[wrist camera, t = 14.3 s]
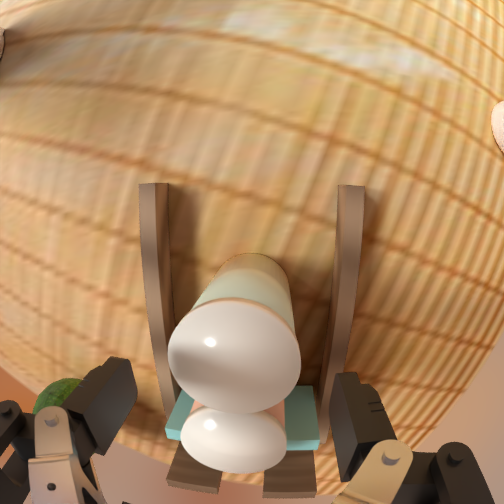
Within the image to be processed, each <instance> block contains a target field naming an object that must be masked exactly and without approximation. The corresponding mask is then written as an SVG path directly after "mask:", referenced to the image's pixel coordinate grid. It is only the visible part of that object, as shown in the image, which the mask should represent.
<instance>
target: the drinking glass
mask: <svg viewBox="0 0 504 504" xmlns="http://www.w3.org/2000/svg"><path fill="white" fill-rule="evenodd" d="M491 126H492V131H493V135H494V138H495V140H496V142H497V144H498V146H499V148H500V149H501V150H502V152H503V153H504V101H502V102H499V103H498V104H496V105H495V107H494V108H493V111H492V114H491Z"/></svg>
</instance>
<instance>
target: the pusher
mask: <svg viewBox="0 0 504 504" xmlns="http://www.w3.org/2000/svg"><path fill="white" fill-rule="evenodd" d="M194 401H195V399H193V398H192V397H190V396H189V395H188V394H187V393H186V392H185V391H184V390H183V389H182V390H181V393H180V395H179V397H178V399H177V402H176V404H175V406H174V408H173V411H172V413H171V415H170V417H169V419H168V422H167V424H166V426H165V431H166V435H167V438H169V439H174V440H180V441H181V438H180V436H181V431H182V428H183V425H184V422H185V420H186V418H187V416H188V415H189V414H190V411H191V409H192V406H193V403H194ZM284 415H285V431H286V437H287V450H318V446H319V442H320V435H319V428H318V420H317V413H316V406H315V400H314V393H313V386H295V387H294V389H293V390H292V391H291V392H290V394H289V395H288V396H287V397H286V398H285V399H284Z"/></svg>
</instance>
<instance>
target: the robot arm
mask: <svg viewBox="0 0 504 504" xmlns="http://www.w3.org/2000/svg"><path fill="white" fill-rule="evenodd" d="M4 30H5V29H4V28H1V27H0V58H1V55H2V51H3V47H4V36H3V33H4ZM136 399H137V386H136V382H135V379H134V375H133V371H132V367H131V363H130V361H129V360H128V359H124V358H118V357H113V356H111V357H109V358H108V360H107V361H106V362H105V363H104V364H103V365H102V366H98V367H96V368H95V369H93V370H91V371H90V372H89V373H88V374H87V375H86V376H85V377H84V379H83V380H82V381H81V382H80V383H79V384H78V386H77V387H76V388H75V389H74V390H73V391H72V392H71V394H70V395H69V396H68V397H67V398H66V399H65V401H64V402H63V403H62V404H61V405H60V406H59V407H57V406H50V407H46V408H43V409H42V410H40V411H39V412H38V413H37V414H31V413H23V412H22V410H21V408H20V406H19V405H18V403H16V402H15V401H11V400H6V401H2V402H0V456H1V455H2V454H3V452H4V451H5V450H6V448H7V447H8V446H9V444H11V445H12V447H13V448H14V449H15V451H14V452H13V454H12V455H11V457H10V458H9V460H8V461H7V462H6V464H5V465H4V467H3V468H2V470H1V468H0V504H23V502H24V500H25V499H26V497H27V495H28V493H29V492H30V490H31V498H32V504H107V502H106V500H105V499H104V496H103V494H102V491H101V488H100V485H99V481H98V478H97V475H96V471H95V467H94V464H93V461H92V458H91V456H92V454H93V453H97V454H100V455H103V456H104V455H105V454H106V452H107V450H108V448H109V447H110V445H111V443H112V441H113V440H114V438H115V436H116V434H117V433H118V431H119V429H120V427H121V426H122V424H123V422H124V421H125V419H126V417H127V415H128V414H129V412H130V410H131V409H132V407H133V405H134V403H135V402H136ZM329 419H330V424H331V429H332V434H333V440H334V445H335V451H336V456H337V462H338V468H339V474H340V480H341V482H348V481H350V482H349V484H348V485H347V487H346V488H345V489H344V490H343V492H342V493H340V494H339V495H338V496H337V497H336V498H335V499H334V501H333V502H332V503H331V504H495V503H494V500H493V498H492V495H491V493H490V490H489V488H488V486H487V483H486V481H485V479H484V476H483V474H482V472H481V470H480V468H479V466H478V463H477V461H476V459H475V457H474V455H473V453H472V451H471V450H470V448H469V447H468V446H466V445H465V444H463V443H459V442H450V443H446V444H444V445H443V446H442V447H441V448H440V449H439V450H438V452H437V453H425V452H414V451H412V450H411V449H410V447H409V446H408V445H406V444H405V443H403V442H401V441H398V440H397V438H396V435H395V433H394V430H393V428H392V426H391V423H390V421H389V418H388V416H387V413H386V411H385V409H384V406H383V404H382V403H381V399H380V397H379V394H378V392H377V391H376V390H375V389H374V388H373V387H372V386H371V385H369V384H361V383H360V381H359V378H358V375H357V373H356V372H346V373H336V374H335V377H334V382H333V387H332V392H331V397H330V402H329ZM122 504H129V503H127V502H122Z"/></svg>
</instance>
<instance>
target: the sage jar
mask: <svg viewBox="0 0 504 504" xmlns="http://www.w3.org/2000/svg"><path fill="white" fill-rule="evenodd" d="M168 362H169V366H170V369H171V372H172V374H173V376H174V378H175V380H176V381H177V383H178V384H179V385H180V387H181V388H182V389H183V390H184V391H185V392H186V393H187V394H188V395H189V396H190V397H192V398H193V399H195V400H196V401H198V402H199V403H201V404H203V405H205V406H207V407H209V408H212V409H215V410H218V411H222V412H226V413H234V414H246V413H254V412H259V411H262V410H265V409H268V408H270V407H272V406H274V405H276V404H278V403H279V402H281V401H282V400H283V399H285V398H286V397H287V396H288V395H289V394H290V392H291V391H292V390H293V389H294V387H295V385H296V383H297V381H298V378H299V376H300V370H301V358H300V350H299V344H298V341H297V338H296V335H295V327H294V319H293V311H292V303H291V296H290V288H289V282H288V279H287V276H286V274H285V272H284V271H283V269H282V268H281V267H280V266H279V265H278V264H277V263H276V262H275V261H274V260H272V259H271V258H269V257H267V256H264V255H261V254H256V253H245V254H240V255H237V256H234V257H232V258H230V259H229V260H227V261H226V262H225V263H224V264H223V265H222V266H221V267H220V269H219V270H218V271H217V273H216V274H215V276H214V277H213V279H212V280H211V282H210V283H209V284H208V286H207V287H206V289H205V290H204V292H203V293H202V295H201V296H200V298H199V299H198V300H197V302H196V303H195V305H194V306H193V308H192V309H191V311H189V312H188V313H187V314H186V315H185V316H184V317H183V318H182V320H181V321H180V323H179V324H178V326H177V327H176V329H175V330H174V332H173V333H172V336H171V338H170V341H169V345H168Z"/></svg>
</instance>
